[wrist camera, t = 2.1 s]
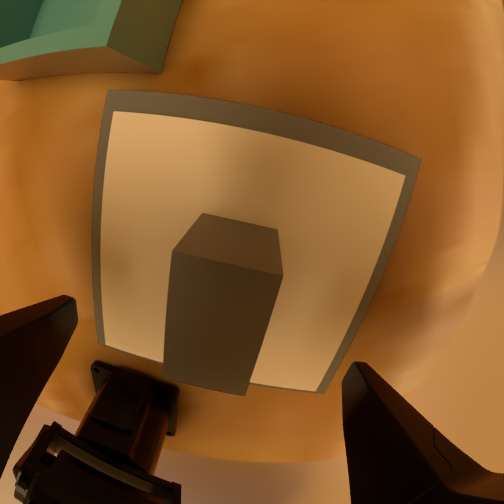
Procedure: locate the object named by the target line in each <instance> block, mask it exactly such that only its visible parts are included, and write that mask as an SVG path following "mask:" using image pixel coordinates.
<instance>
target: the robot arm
mask: <svg viewBox="0 0 504 504" xmlns="http://www.w3.org/2000/svg"><path fill="white" fill-rule="evenodd" d="M77 323H78V314H77V306H76V300H75V299H74V298H73V297H70V296H67V295H61V296H58V297H55V298H52V299H49V300H46V301H43V302H40V303H37V304H34V305H31V306H28V307H25V308H21V309H18V310H15V311H12V312H9V313H6V314H3V315H1V316H0V478H1V476H2V473H3V471H4V468H5V466H6V464H7V461H8V459H9V457H10V455H9V454H11V452H12V450H13V447H14V445H15V443H16V440H17V439H18V436H19V434H20V432H21V430H22V428H23V426H24V424H25V422H26V420H27V418H28V416H29V414H30V412H31V411H32V408H33V407H34V405H35V403H36V401H37V399H38V397H39V396H40V394H41V392H42V390H43V388H44V387H45V385H46V383H47V381H48V380H49V378H50V376H51V374H52V373H53V371H54V369H55V368H56V366H57V364H58V363H59V361H60V359H61V357H62V355H63V353H64V351H65V348H66V346H67V344H68V342H69V340H70V338H71V336H72V334H73V332H74V330H75V328H76V326H77ZM91 372H92V377H93V381H94V386H95V390H96V395H95V397H94V399H93V401H92V403H91V405H90V406H89V408H88V410H87V412H86V414H85V416H84V418H83V420H82V422H81V423H80V425H79V427H78V429H77V431H76V433H75V435H73V434H71V433H70V432H68V431H67V430H65V429H64V428H62V426H61V425H60V424H58V423H57V422H55V421H54V422H53V423H52V425H51V426H48V425H44V426H43V428H42V429H41V431H40V433H39V434H38V436H37V438H36V440H35V441H34V442H33V444H32V445H31V446H30V447H29V449H28V450H27V451H26V452H25V453H24V455H23V456H22V457H21V458H20V459H19V461H18V462H17V463H16V464H15V466H14V468H13V473H14V476H15V479H16V483H15V486H16V488H15V493H14V497H15V498H16V499H17V500H19V501H20V502H22V503H23V504H181V485H180V484H178V483H175V482H169V481H166V480H164V479H161V478H158V477H156V476H154V473H155V470H156V466H157V463H158V459H159V456H160V452H161V449H162V445H163V442H164V438H165V435H167V436H175V433H176V425H177V411H178V398H179V390H178V389H177V388H176V387H174V386H171V385H168V384H164V383H160V382H157V381H153V380H150V379H147V378H143V377H140V376H137V375H134V374H131V373H128V372H125V371H122V370H119V369H116V368H113V367H110V366H107V365H105V364H102V363H99V362H93V364H92V365H91ZM342 416H343V431H344V439H345V447H346V456H347V465H348V474H349V485H350V496H351V504H504V474H501V473H494V472H490V471H489V470H487V469H485V468H483V467H482V466H481V465H480V464H478V463H477V462H476V461H474V460H473V459H472V458H470V457H469V456H468V455H467V454H465V453H464V452H462V451H461V450H460V449H459V448H458V447H456V446H455V445H454V444H453V443H451V442H450V441H449V440H448V439H447V438H446V437H445V436H444V435H442V434H441V433H440V432H439V431H438V430H437V429H436V428H434V426H433V425H432V424H431V423H430V422H429V421H427V420H426V419H425V418H424V417H423V416H422V415H421V414H420V413H419V412H418V411H417V410H416V409H415V408H414V407H413V406H412V405H410V404H409V403H408V402H407V401H406V400H405V399H404V398H403V397H402V396H401V395H400V394H399V393H398V392H397V391H396V390H395V389H393V388H392V387H391V386H390V385H389V384H388V383H387V382H386V381H385V380H384V379H383V378H382V377H381V376H380V375H379V374H378V373H376V372H375V371H374V370H373V369H372V368H371V367H370V366H369V365H368V364H367V363H365V362H358V361H355V362H353V363H352V364H351V366H350V368H349V369H348V371H347V373H346V375H345V376H344V378H343V381H342ZM55 452H56V453H57V454H58V455H57V457H56V456H54V454H55Z"/></svg>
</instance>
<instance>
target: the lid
mask: <svg viewBox="0 0 504 504" xmlns="http://www.w3.org/2000/svg"><path fill="white" fill-rule="evenodd" d="M404 179H405V175H402V174H400V173H397V172H394V171H392V170H389V169H386V168H384V167H381V166H378V165H375V164H372V163H369V162H366V161H363V160H361V159H357V158H354V157H351V156H348V155H345V154H342V153H339V152H335V151H332V150H329V149H325V148H322V147H318V146H315V145H311V144H308V143H304V142H300V141H296V140H292V139H288V138H284V137H280V136H276V135H272V134H268V133H263V132H259V131H254V130H249V129H244V128H239V127H234V126H229V125H224V124H218V123H212V122H206V121H200V120H193V119H186V118H179V117H171V116H163V115H154V114H144V113H132V112H119V111H114V112H113V117H112V123H111V129H110V135H109V142H108V149H107V157H106V165H105V174H104V185H103V198H102V214H101V247H100V262H101V295H102V311H103V324H104V334H105V344H106V345H108V346H111V347H113V348H116V349H119V350H122V351H125V352H129V353H132V354H135V355H138V356H141V357H145V358H148V359H151V360H155V361H158V362H162V363H163V378H165V379H169V380H173V381H177V382H181V383H184V384H189V385H193V386H197V387H201V388H206V389H210V390H215V391H220V392H225V393H230V394H235V395H241V396H245V394H246V391H247V388H248V385H249V382H251V383H256V384H263V385H269V386H276V387H283V388H290V389H298V390H306V391H316V390H317V388H318V386H319V384H320V383H321V381H322V379H323V377H324V375H325V373H326V372H327V370H328V368H329V366H330V364H331V362H332V360H333V358H334V356H335V354H336V352H337V350H338V348H339V346H340V344H341V342H342V340H343V338H344V336H345V334H346V332H347V330H348V328H349V326H350V324H351V321H352V319H353V317H354V315H355V313H356V310H357V308H358V306H359V304H360V301H361V299H362V297H363V294H364V292H365V290H366V287H367V285H368V283H369V280H370V278H371V275H372V273H373V270H374V268H375V265H376V263H377V260H378V257H379V255H380V252H381V249H382V247H383V244H384V241H385V238H386V236H387V233H388V230H389V227H390V224H391V221H392V218H393V215H394V212H395V209H396V206H397V203H398V199H399V196H400V193H401V190H402V186H403V183H404Z"/></svg>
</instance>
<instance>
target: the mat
mask: <svg viewBox="0 0 504 504" xmlns="http://www.w3.org/2000/svg"><path fill="white" fill-rule="evenodd" d="M114 111H119V112H132V113H144V114H154V115H163V116H171V117H179V118H186V119H193V120H200V121H206V122H212V123H218V124H224V125H229V126H234V127H239V128H244V129H249V130H254V131H259V132H263V133H268V134H272V135H276V136H280V137H284V138H288V139H292V140H296V141H300V142H304V143H308V144H311V145H315V146H318V147H322V148H325V149H329V150H332V151H335V152H339V153H342V154H345V155H348V156H351V157H354V158H357V159H361V160H363V161H366V162H369V163H372V164H375V165H378V166H381V167H384V168H386V169H389V170H392V171H394V172H397V173H400V174H402V175H405V179H404V183H403V186H402V190H401V193H400V196H399V199H398V203H397V206H396V209H395V212H394V215H393V218H392V221H391V224H390V227H389V230H388V233H387V236H386V238H385V241H384V244H383V247H382V249H381V252H380V255H379V257H378V260H377V263H376V265H375V268H374V270H373V273H372V275H371V278H370V280H369V283H368V285H367V287H366V290H365V292H364V294H363V297H362V299H361V301H360V304H359V306H358V308H357V310H356V313H355V315H354V317H353V319H352V321H351V324H350V326H349V328H348V330H347V332H346V334H345V336H344V338H343V340H342V342H341V344H340V346H339V348H338V350H337V352H336V354H335V356H334V358H333V360H332V362H331V364H330V366H329V368H328V370H327V372H326V373H325V375H324V377H323V379H322V381H321V383H320V384H319V386H318V388H317V390H316V391H306V390H298V389H290V388H283V387H276V386H269V385H263V384H256V383H251V382H249V384H253V385H259V386H265V387H272V388H279V389H286V390H294V391H302V392H311V393H321V394H324V392H325V390H326V389H327V387H328V385H329V383H330V382H331V380H332V378H333V376H334V375H335V373H336V371H337V369H338V367H339V366H340V364H341V362H342V360H343V358H344V356H345V354H346V353H347V351H348V349H349V347H350V345H351V343H352V341H353V339H354V337H355V335H356V333H357V331H358V329H359V327H360V325H361V323H362V321H363V318H364V316H365V314H366V312H367V310H368V308H369V306H370V303H371V301H372V299H373V297H374V294H375V292H376V290H377V287H378V285H379V283H380V280H381V278H382V276H383V273H384V271H385V268H386V266H387V263H388V261H389V258H390V256H391V253H392V250H393V248H394V245H395V242H396V240H397V237H398V234H399V231H400V228H401V225H402V223H403V220H404V217H405V214H406V211H407V207H408V204H409V201H410V198H411V195H412V191H413V188H414V185H415V181H416V178H417V174H418V170H419V167H420V163H421V159H420V158H417V157H415V156H413V155H410V154H408V153H406V152H403V151H401V150H398V149H396V148H393V147H391V146H388V145H386V144H383V143H380V142H378V141H375V140H372V139H370V138H367V137H364V136H361V135H358V134H355V133H352V132H349V131H346V130H343V129H340V128H337V127H334V126H331V125H327V124H324V123H320V122H317V121H313V120H310V119H306V118H303V117H299V116H295V115H291V114H287V113H283V112H279V111H274V110H270V109H266V108H261V107H256V106H251V105H246V104H241V103H236V102H230V101H224V100H218V99H212V98H205V97H198V96H190V95H181V94H172V93H161V92H149V91H132V90H108V92H107V96H106V101H105V106H104V112H103V117H102V123H101V129H100V136H99V143H98V150H97V159H96V168H95V179H94V191H93V208H92V280H93V297H94V310H95V320H96V329H97V338H98V344H100V345H103V346H106V347H109V348H112V349H115V350H118V351H121V352H124V353H127V354H130V355H133V356H136V357H139V358H143V359H146V360H149V361H153V362H156V363H160V364H163V363H162V362H158V361H155V360H151V359H148V358H145V357H141V356H138V355H135V354H132V353H129V352H125V351H122V350H119V349H116V348H113V347H111V346H108V345H106V344H105V334H104V324H103V311H102V295H101V262H100V247H101V214H102V198H103V185H104V174H105V165H106V157H107V149H108V142H109V135H110V129H111V123H112V117H113V112H114Z"/></svg>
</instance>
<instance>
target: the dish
mask: <svg viewBox="0 0 504 504" xmlns="http://www.w3.org/2000/svg"><path fill="white" fill-rule="evenodd" d="M182 1H183V0H0V80H10V81H21V80H27V79H33V78H41V77H49V76H58V75H69V74H84V73H153V74H160V73H161V70H162V66H163V62H164V58H165V55H166V51H167V47H168V44H169V41H170V37H171V34H172V31H173V28H174V24H175V21H176V18H177V15H178V12H179V9H180V7H181V4H182Z"/></svg>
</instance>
